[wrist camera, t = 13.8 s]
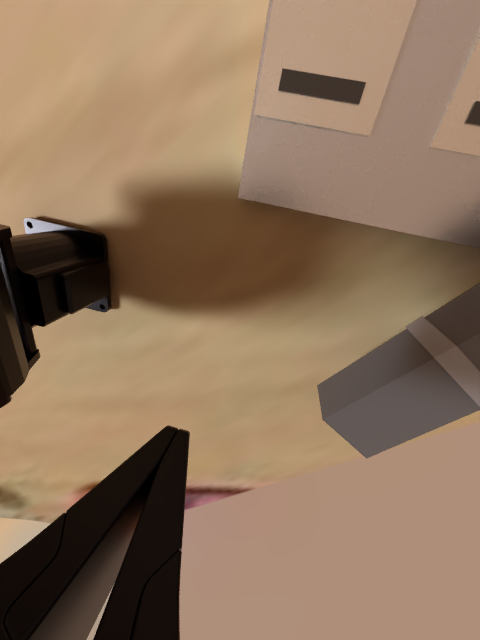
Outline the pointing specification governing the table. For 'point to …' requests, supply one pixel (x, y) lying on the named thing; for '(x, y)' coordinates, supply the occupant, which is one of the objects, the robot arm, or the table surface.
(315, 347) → the table surface
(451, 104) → the panel
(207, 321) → the table surface
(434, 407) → the bar
